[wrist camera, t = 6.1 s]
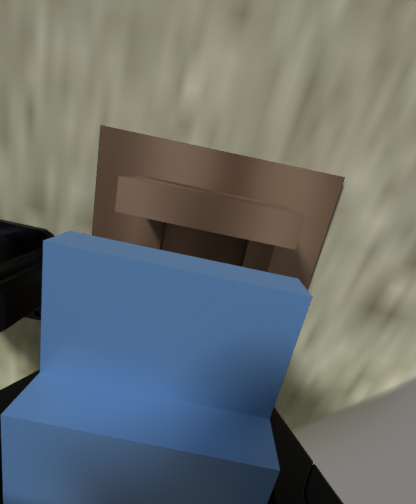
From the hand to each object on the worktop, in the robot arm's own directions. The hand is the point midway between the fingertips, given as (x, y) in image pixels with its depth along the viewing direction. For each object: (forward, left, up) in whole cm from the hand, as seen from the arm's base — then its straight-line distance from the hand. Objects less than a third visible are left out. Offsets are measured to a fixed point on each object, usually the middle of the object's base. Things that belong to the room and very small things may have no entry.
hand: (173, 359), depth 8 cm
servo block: (0, 0, -2) cm, 2 cm away
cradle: (0, 0, -9) cm, 9 cm away
